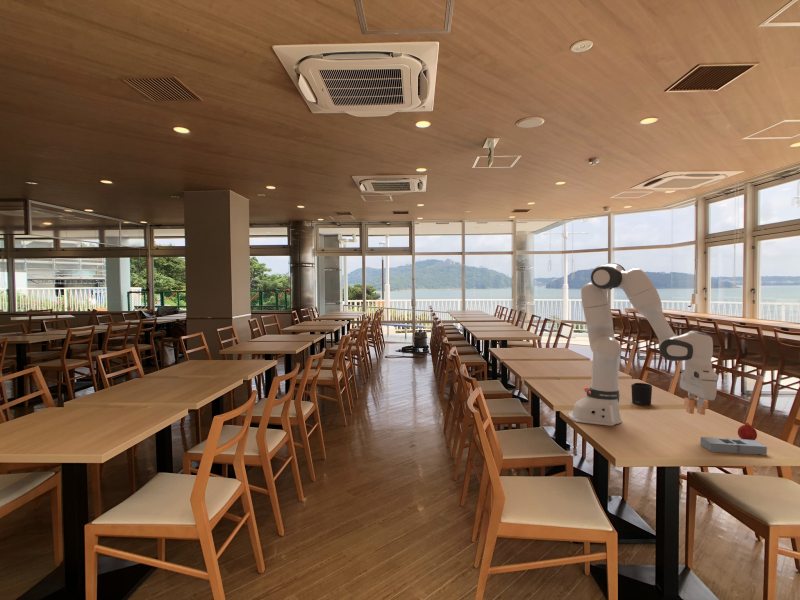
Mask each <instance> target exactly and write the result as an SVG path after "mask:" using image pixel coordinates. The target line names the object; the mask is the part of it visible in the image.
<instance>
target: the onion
mask: <svg viewBox="0 0 800 600" xmlns="http://www.w3.org/2000/svg"><path fill="white" fill-rule="evenodd" d="M737 435H738V437H739V439H745V440H755V441H756V439H758V438H757V437H758V433H757V430H756V429H755V428H754V427H753V426H752V425H751V424H750V423H749V422H745V423H744V424H742V425H741V426H739V427H738V429H737Z"/></svg>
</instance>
